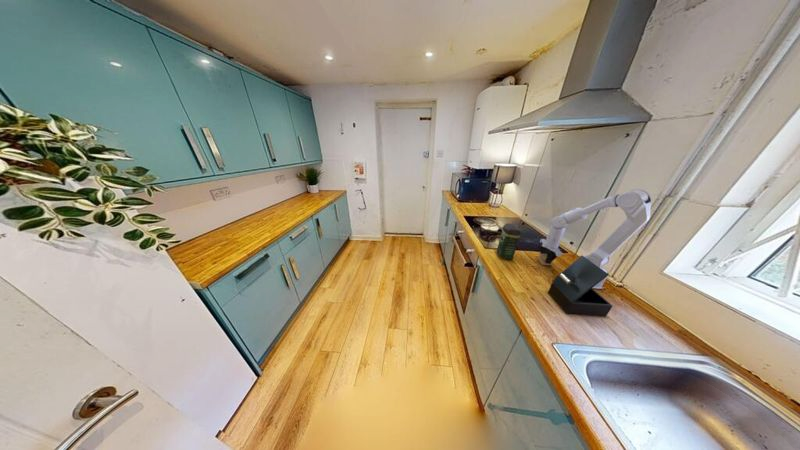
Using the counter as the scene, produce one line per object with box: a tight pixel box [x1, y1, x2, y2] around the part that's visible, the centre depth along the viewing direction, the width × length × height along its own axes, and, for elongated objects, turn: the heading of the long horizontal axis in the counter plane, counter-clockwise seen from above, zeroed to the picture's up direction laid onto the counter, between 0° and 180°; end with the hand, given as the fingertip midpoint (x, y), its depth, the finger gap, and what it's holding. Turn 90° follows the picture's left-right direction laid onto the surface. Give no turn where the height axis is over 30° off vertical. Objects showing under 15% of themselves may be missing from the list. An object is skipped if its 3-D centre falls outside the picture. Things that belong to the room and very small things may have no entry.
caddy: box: [547, 282, 613, 318], centre depth 79 cm, size 14×11×6 cm
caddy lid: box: [551, 254, 610, 303], centre depth 74 cm, size 15×11×5 cm
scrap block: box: [537, 252, 554, 266], centre depth 105 cm, size 4×4×4 cm
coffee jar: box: [496, 223, 522, 261], centre depth 107 cm, size 10×8×19 cm
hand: (545, 260), depth 105 cm, fingers closed on scrap block, 4 cm apart
